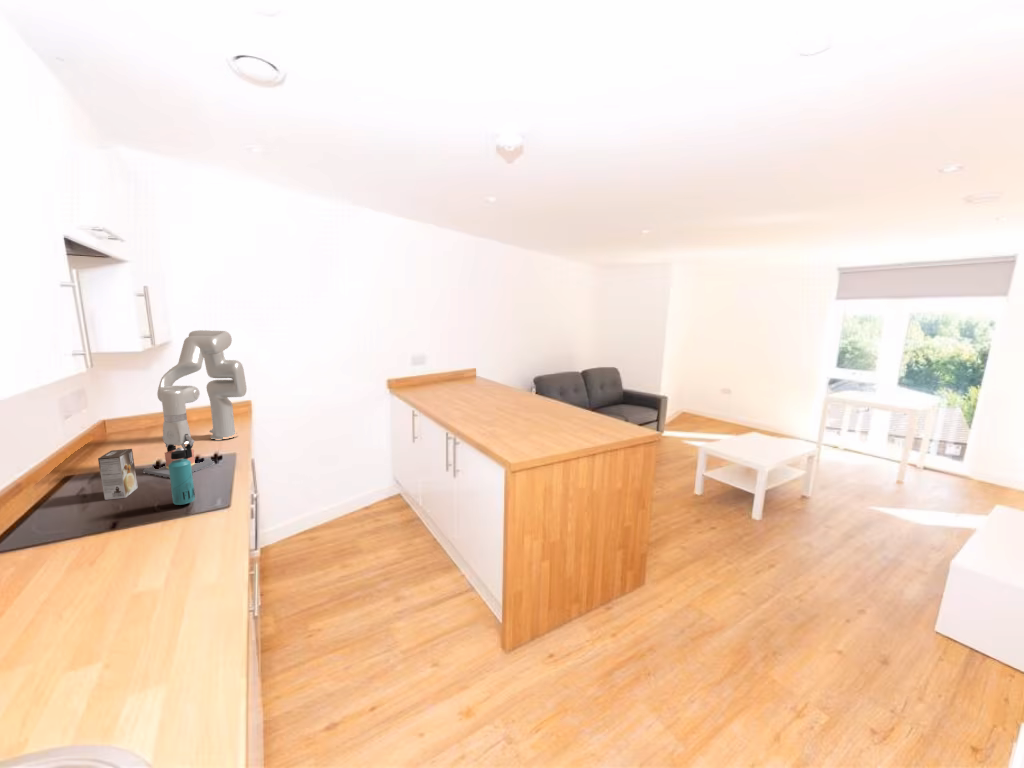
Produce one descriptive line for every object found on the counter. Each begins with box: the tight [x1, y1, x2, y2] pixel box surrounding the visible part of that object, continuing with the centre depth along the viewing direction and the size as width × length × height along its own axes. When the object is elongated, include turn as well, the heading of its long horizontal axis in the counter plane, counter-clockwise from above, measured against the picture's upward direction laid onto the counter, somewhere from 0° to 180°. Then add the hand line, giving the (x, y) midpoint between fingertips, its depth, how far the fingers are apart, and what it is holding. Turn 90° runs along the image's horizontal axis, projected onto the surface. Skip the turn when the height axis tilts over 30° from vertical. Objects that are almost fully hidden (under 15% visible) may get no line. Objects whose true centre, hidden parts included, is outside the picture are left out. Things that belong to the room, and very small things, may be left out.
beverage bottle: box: [168, 450, 196, 506], centre depth 143 cm, size 6×7×20 cm
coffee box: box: [97, 448, 139, 501], centre depth 150 cm, size 9×6×16 cm
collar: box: [164, 448, 195, 466], centre depth 176 cm, size 7×7×6 cm
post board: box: [142, 447, 214, 479], centre depth 176 cm, size 18×18×9 cm
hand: (180, 456), depth 176 cm, fingers open, 8 cm apart
